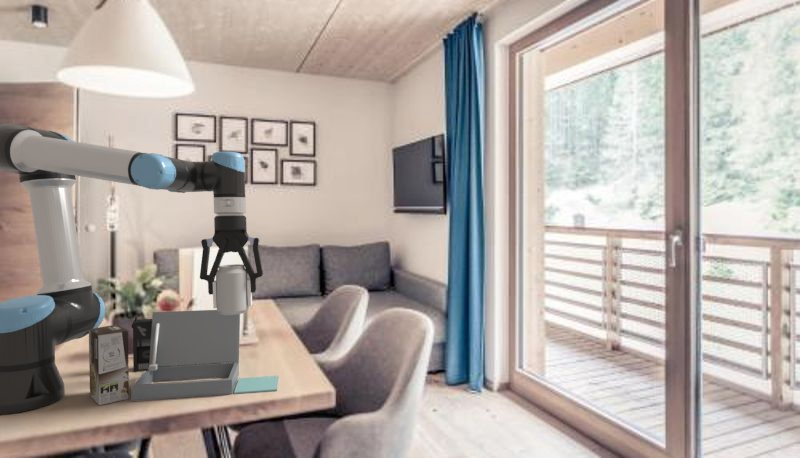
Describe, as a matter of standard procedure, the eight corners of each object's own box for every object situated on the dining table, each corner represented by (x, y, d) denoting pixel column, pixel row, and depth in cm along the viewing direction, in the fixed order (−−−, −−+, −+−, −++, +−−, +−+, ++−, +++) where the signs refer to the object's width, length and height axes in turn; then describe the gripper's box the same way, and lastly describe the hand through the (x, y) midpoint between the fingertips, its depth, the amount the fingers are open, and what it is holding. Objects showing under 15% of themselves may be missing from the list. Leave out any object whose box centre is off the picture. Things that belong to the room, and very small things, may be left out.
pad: (234, 393, 114) (234, 392, 114) (239, 379, 124) (239, 378, 124) (276, 390, 116) (277, 389, 116) (278, 377, 126) (278, 375, 126)
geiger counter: (175, 363, 137) (174, 311, 137) (173, 368, 133) (172, 314, 133) (134, 367, 134) (133, 314, 133) (131, 372, 129) (130, 317, 129)
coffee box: (130, 398, 111) (129, 330, 110) (98, 406, 106) (97, 335, 106) (119, 388, 118) (118, 323, 117) (89, 395, 113) (88, 327, 112)
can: (247, 308, 124) (246, 262, 123) (249, 314, 117) (248, 265, 116) (217, 311, 121) (215, 264, 121) (216, 317, 114) (215, 267, 114)
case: (131, 401, 109) (130, 327, 109) (154, 375, 127) (153, 311, 126) (231, 394, 114) (231, 323, 114) (240, 369, 132) (240, 308, 131)
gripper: (182, 215, 112) (186, 311, 113) (271, 214, 116) (274, 306, 117) (190, 215, 120) (193, 305, 120) (273, 214, 124) (275, 301, 124)
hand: (233, 306), depth 119 cm, fingers closed on can, 7 cm apart
